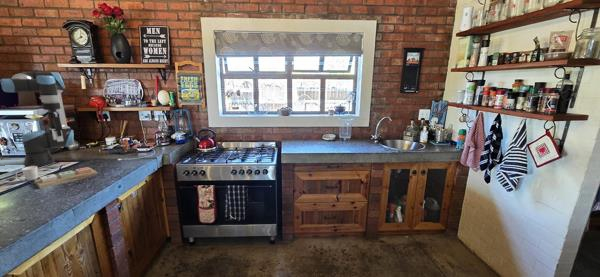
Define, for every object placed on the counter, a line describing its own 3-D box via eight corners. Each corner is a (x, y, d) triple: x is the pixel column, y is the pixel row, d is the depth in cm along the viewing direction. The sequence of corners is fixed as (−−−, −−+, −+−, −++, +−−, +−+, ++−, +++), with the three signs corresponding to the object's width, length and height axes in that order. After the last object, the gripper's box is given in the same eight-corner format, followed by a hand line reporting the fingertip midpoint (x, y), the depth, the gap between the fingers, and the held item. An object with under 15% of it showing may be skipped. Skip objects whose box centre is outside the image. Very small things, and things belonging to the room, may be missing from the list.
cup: (37, 181, 148) (34, 168, 146) (14, 184, 144) (10, 171, 142) (43, 177, 154) (40, 165, 152) (21, 180, 150) (18, 167, 148)
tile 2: (59, 176, 150) (58, 172, 150) (72, 174, 155) (71, 170, 155) (62, 179, 147) (61, 174, 147) (75, 176, 152) (74, 172, 151)
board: (35, 183, 145) (34, 179, 144) (90, 171, 166) (90, 167, 165) (40, 189, 138) (39, 185, 137) (97, 175, 158) (97, 171, 158)
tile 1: (40, 181, 144) (39, 176, 143) (54, 177, 149) (53, 173, 148) (43, 183, 141) (42, 179, 140) (57, 180, 146) (56, 176, 145)
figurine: (118, 152, 209) (116, 138, 207) (132, 150, 217) (130, 136, 214) (122, 154, 203) (120, 140, 200) (136, 152, 211) (134, 138, 208)
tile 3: (76, 173, 157) (75, 169, 156) (88, 170, 162) (87, 166, 161) (79, 175, 154) (78, 171, 153) (91, 172, 158) (90, 168, 158)
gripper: (37, 102, 150) (45, 139, 155) (46, 104, 138) (54, 143, 143) (54, 101, 156) (62, 137, 161) (64, 103, 144) (71, 141, 149)
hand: (58, 140), depth 152 cm, fingers open, 8 cm apart
